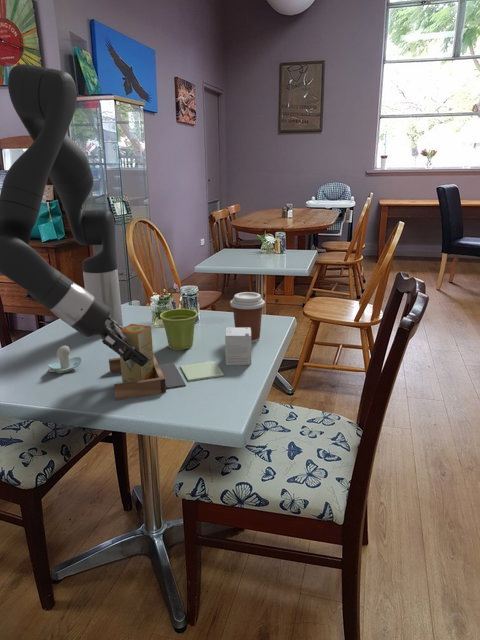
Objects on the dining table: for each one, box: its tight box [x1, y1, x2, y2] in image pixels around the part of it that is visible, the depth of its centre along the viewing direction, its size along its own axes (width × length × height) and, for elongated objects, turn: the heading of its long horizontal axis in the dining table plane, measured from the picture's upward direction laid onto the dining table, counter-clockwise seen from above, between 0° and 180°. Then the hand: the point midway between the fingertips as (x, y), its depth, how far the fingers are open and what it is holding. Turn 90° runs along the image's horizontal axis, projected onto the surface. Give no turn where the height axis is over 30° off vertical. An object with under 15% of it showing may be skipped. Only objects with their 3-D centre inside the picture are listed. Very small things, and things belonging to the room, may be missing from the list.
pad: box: [179, 360, 225, 382], centre depth 109 cm, size 8×8×1 cm
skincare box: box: [224, 326, 252, 366], centre depth 114 cm, size 6×6×7 cm
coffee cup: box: [229, 291, 266, 344], centre depth 127 cm, size 9×9×12 cm
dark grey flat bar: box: [159, 363, 187, 390], centre depth 107 cm, size 12×4×1 cm, turn 19°
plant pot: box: [159, 308, 199, 351], centre depth 123 cm, size 9×9×9 cm
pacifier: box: [47, 345, 82, 374], centre depth 110 cm, size 7×6×6 cm
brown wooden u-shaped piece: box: [108, 353, 167, 401], centre depth 104 cm, size 15×10×3 cm, turn 19°
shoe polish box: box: [119, 323, 155, 383], centre depth 103 cm, size 5×5×12 cm
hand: (142, 355), depth 103 cm, fingers open, 8 cm apart
